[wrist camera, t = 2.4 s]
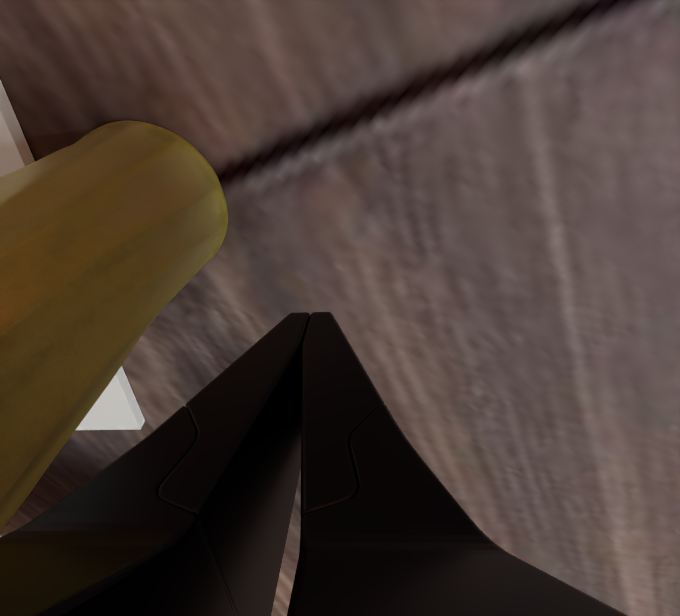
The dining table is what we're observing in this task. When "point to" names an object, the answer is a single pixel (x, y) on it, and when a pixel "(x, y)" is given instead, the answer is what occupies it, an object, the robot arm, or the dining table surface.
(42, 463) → the vase
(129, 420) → the mat
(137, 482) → the robot arm
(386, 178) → the dining table surface
